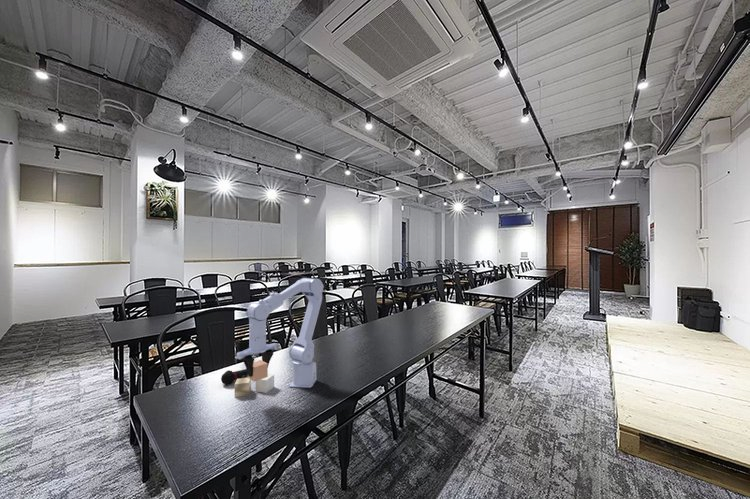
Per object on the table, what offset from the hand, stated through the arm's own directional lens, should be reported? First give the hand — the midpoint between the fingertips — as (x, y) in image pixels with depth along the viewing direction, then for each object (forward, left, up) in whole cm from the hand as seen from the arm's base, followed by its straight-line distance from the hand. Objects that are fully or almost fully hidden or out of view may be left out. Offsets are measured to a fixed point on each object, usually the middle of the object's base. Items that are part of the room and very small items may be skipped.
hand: (257, 373), depth 105 cm
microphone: (+17, -20, -11) cm, 28 cm away
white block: (+2, -10, -10) cm, 15 cm away
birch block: (+9, -6, -10) cm, 15 cm away
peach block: (0, 0, -1) cm, 1 cm away
